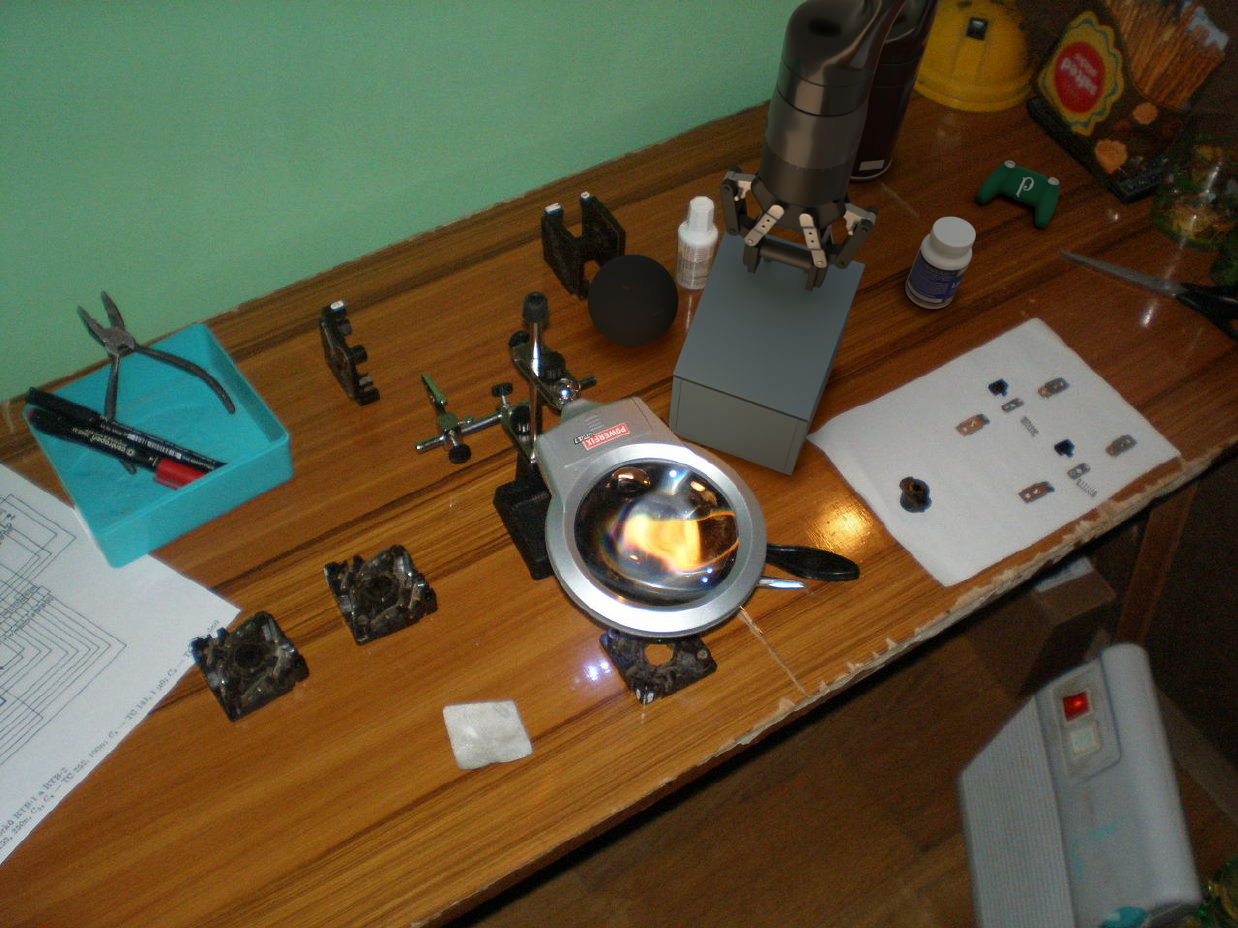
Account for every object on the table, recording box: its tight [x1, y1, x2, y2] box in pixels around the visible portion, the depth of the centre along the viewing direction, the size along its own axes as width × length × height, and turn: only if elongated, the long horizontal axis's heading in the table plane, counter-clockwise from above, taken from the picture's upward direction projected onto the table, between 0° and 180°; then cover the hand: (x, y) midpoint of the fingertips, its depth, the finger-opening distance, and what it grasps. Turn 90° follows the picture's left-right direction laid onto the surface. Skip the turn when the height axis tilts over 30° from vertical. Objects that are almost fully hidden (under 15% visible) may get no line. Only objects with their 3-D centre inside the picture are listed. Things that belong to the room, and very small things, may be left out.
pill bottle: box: [904, 216, 977, 310], centre depth 111 cm, size 6×6×10 cm
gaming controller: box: [975, 160, 1061, 229], centre depth 122 cm, size 9×4×6 cm
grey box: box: [668, 312, 851, 477], centre depth 103 cm, size 15×14×10 cm
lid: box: [672, 229, 866, 421], centre depth 92 cm, size 16×14×5 cm
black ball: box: [586, 253, 680, 348], centre depth 108 cm, size 10×10×10 cm
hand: (782, 274), depth 93 cm, fingers closed on lid, 5 cm apart
